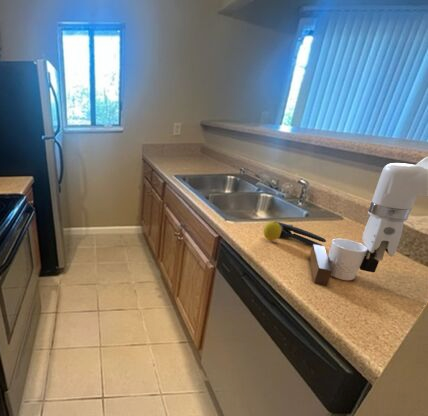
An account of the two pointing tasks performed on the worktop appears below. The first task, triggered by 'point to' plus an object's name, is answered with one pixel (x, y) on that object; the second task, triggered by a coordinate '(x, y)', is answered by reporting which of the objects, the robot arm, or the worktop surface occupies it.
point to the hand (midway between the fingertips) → (366, 269)
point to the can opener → (287, 233)
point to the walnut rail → (320, 265)
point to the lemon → (272, 231)
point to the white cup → (346, 258)
